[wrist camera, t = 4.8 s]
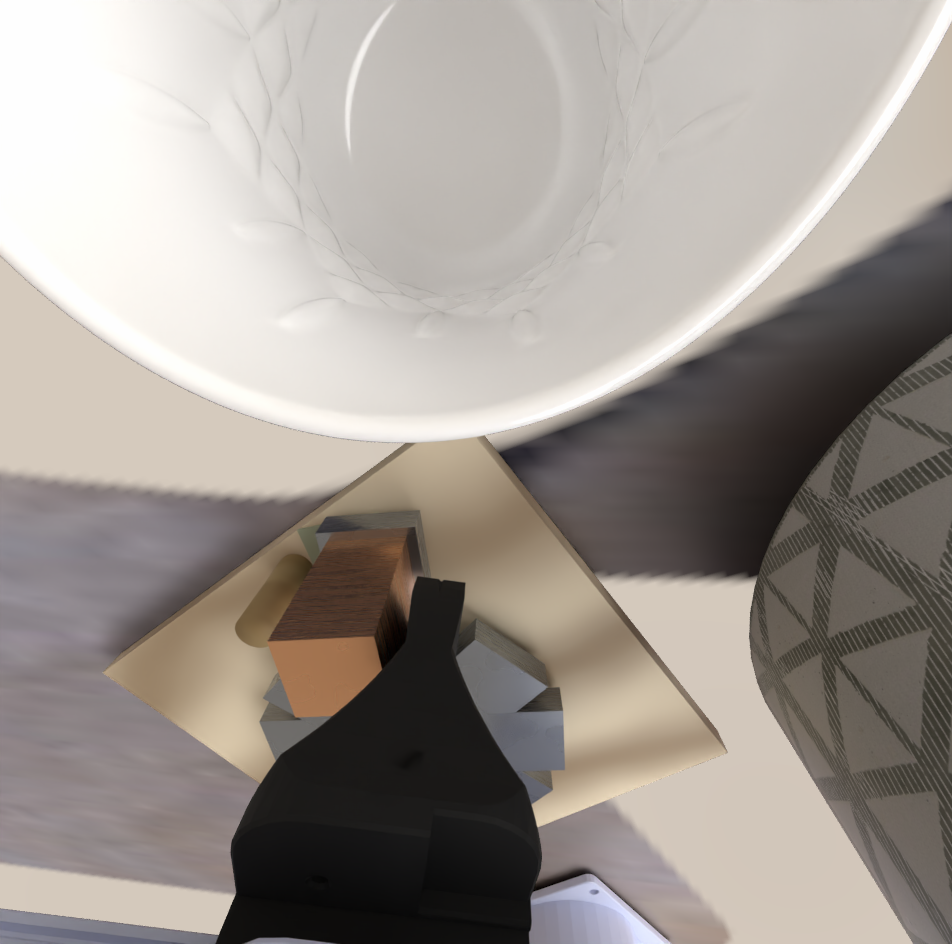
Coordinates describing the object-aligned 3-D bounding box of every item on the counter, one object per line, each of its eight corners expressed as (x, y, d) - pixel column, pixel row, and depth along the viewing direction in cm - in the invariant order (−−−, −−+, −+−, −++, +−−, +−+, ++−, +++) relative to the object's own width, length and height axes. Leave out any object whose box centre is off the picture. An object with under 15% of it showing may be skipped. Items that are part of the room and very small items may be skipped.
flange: (564, 806, 20) (583, 964, 16) (315, 811, 21) (265, 962, 17) (552, 500, 14) (580, 615, 10) (202, 525, 15) (74, 640, 10)
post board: (717, 730, 20) (801, 907, 14) (402, 859, 25) (376, 1026, 19) (459, 403, 14) (436, 490, 9) (120, 653, 19) (-27, 806, 14)
